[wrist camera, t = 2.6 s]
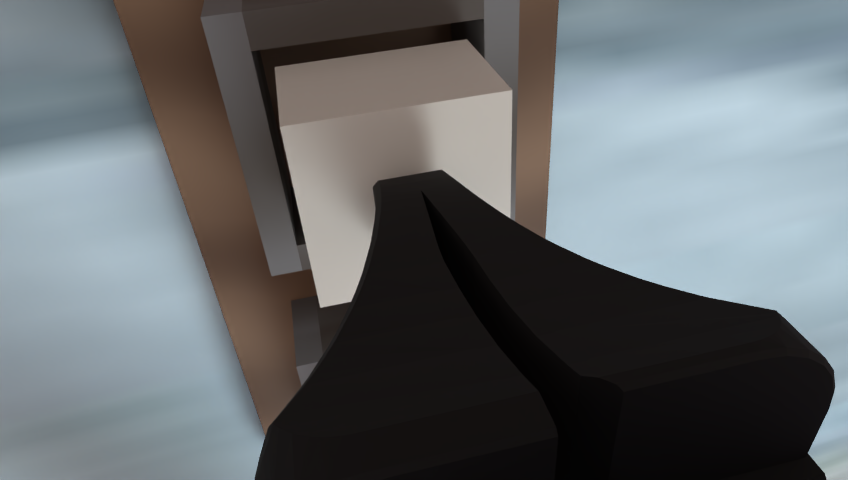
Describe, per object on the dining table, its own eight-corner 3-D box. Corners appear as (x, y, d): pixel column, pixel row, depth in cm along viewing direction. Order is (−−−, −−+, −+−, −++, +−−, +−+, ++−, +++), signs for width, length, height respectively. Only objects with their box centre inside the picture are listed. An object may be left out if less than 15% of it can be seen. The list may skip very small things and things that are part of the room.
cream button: (274, 67, 13) (279, 126, 11) (466, 39, 14) (512, 90, 11) (309, 229, 16) (320, 308, 13) (471, 200, 16) (509, 270, 14)
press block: (79, -149, 14) (19, -130, 10) (545, -192, 16) (633, -189, 12) (279, 450, 27) (284, 550, 23) (523, 394, 28) (562, 480, 25)
